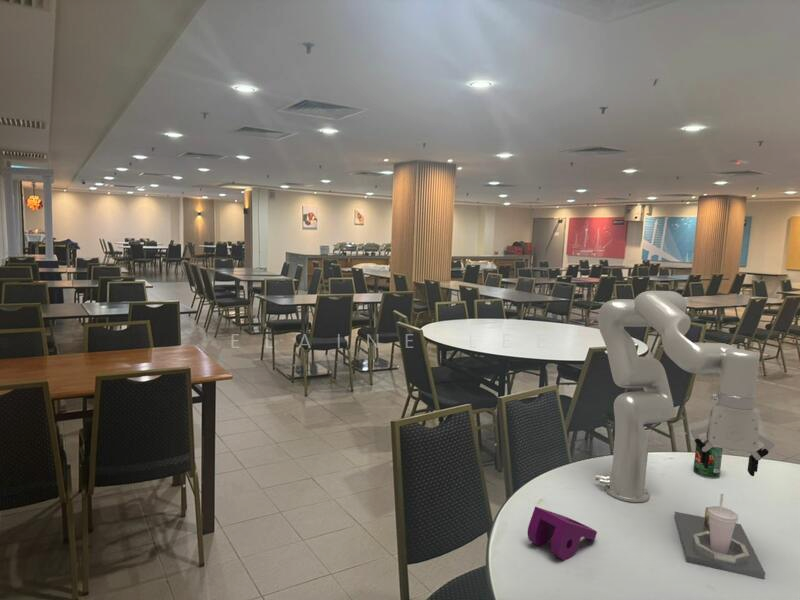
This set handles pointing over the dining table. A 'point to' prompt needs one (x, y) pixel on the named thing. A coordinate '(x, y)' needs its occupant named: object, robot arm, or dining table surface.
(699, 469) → the canned tomato
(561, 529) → the mounting bracket
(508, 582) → the dining table surface
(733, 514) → the smoothie
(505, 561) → the dining table surface
